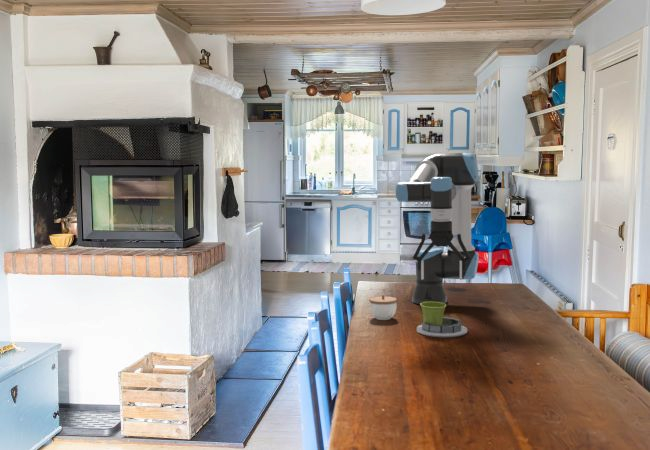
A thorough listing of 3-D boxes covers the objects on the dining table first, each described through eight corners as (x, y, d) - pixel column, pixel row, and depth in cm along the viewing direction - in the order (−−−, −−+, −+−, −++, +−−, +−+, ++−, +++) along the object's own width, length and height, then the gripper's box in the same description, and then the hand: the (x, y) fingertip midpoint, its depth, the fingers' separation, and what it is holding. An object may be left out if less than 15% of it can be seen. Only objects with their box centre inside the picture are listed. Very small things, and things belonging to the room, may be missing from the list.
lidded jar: (387, 322, 258) (387, 298, 257) (364, 319, 264) (364, 295, 263) (402, 317, 266) (401, 294, 265) (379, 314, 273) (378, 291, 272)
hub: (442, 323, 256) (442, 313, 255) (477, 332, 241) (477, 322, 240) (406, 329, 246) (406, 320, 246) (440, 340, 231) (440, 330, 231)
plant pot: (446, 325, 248) (446, 302, 247) (445, 331, 238) (446, 307, 237) (420, 324, 249) (420, 301, 249) (419, 330, 240) (419, 306, 239)
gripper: (405, 221, 239) (405, 280, 241) (477, 221, 234) (477, 281, 236) (407, 219, 246) (407, 276, 248) (476, 219, 241) (476, 277, 243)
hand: (441, 279), depth 242 cm, fingers open, 13 cm apart
